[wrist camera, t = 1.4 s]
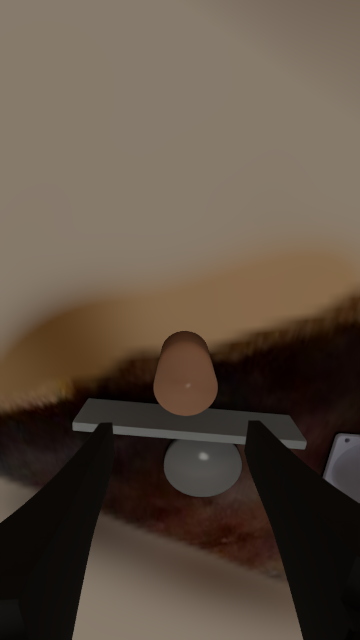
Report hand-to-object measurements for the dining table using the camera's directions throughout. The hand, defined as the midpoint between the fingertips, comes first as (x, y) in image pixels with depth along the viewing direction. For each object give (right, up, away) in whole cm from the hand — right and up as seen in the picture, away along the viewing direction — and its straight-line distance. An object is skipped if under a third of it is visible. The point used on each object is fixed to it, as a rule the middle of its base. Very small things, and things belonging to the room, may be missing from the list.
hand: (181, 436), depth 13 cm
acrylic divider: (+1, -3, +11) cm, 12 cm away
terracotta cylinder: (0, +3, +10) cm, 10 cm away
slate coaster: (+2, -9, +13) cm, 16 cm away
